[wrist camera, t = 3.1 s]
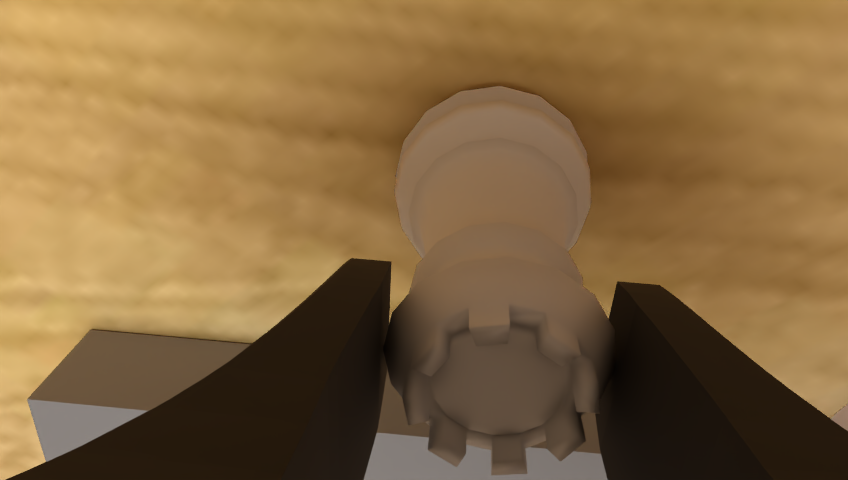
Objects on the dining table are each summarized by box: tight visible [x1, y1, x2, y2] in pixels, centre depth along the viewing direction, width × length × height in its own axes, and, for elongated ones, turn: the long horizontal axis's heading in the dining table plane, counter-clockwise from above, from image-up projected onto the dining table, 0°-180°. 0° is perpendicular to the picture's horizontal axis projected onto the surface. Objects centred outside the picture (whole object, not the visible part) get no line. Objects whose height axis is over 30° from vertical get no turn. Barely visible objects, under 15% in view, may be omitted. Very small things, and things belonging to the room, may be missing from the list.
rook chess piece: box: [383, 86, 615, 475], centre depth 12 cm, size 4×4×8 cm
